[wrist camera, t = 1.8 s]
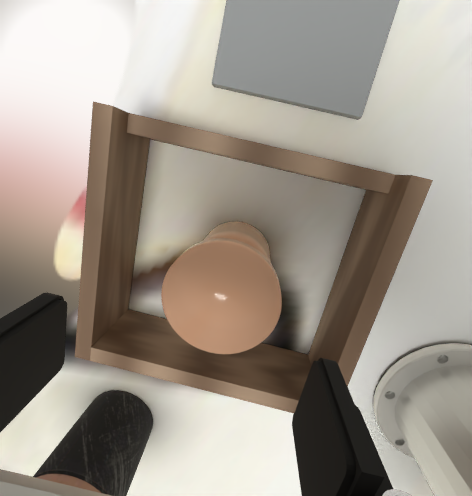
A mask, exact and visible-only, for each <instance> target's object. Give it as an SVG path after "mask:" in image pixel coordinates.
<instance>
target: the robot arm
mask: <svg viewBox="0 0 472 496" xmlns="http://www.w3.org/2000/svg"><path fill="white" fill-rule="evenodd" d="M66 318H67V302H66V301H64V299H63V297H62V296H59V295H55V294H51V293H43V294H41V295H39V296H38V297H36V298H34V299H33V300H31V301H29V302H28V303H26V304H24V305H23V306H21V307H19V308H18V309H16V310H14V311H13V312H11V313H9V314H7V315H6V316H4V317H2V318H1V319H0V432H1V431H2V430H3V429H4V428H5V427H6V426H7V425H8V424H9V423H10V422H11V421H12V420H13V419H14V418H15V417H16V416H17V415H18V414H19V412H20V411H21V410H22V409H23V408H24V407H25V406H26V405H27V404H28V403H29V402H30V401H31V400H32V399H33V398H34V397H35V396H36V395H37V394H38V393H39V392H40V391H41V390H42V389H43V388H44V387H45V386H46V384H47V383H48V382H49V381H50V380H51V379H52V378H53V377H54V376H55V375H56V374H57V373H58V372H59V371H60V370H61V368H62V366H63V364H64V357H65V337H66ZM373 409H374V414H375V418H376V421H377V423H378V425H379V427H380V430H381V431H382V433H383V435H384V436H385V438H386V439H387V440H388V441H389V442H390V443H391V444H392V445H393V446H394V447H395V448H396V449H398V450H400V451H401V452H403V453H404V454H406V455H409V456H411V457H413V458H415V460H416V462H417V464H418V465H419V467H420V469H421V471H422V473H423V475H424V477H425V479H426V481H427V482H428V484H429V486H430V488H431V490H432V492H433V494H434V496H472V345H469V344H458V343H449V344H438V345H434V346H430V347H425V348H422V349H420V350H417V351H415V352H412V353H410V354H409V355H407V356H405V357H404V358H402V359H400V360H399V361H398V362H396V363H395V364H394V365H393V366H392V367H391V368H389V370H388V371H387V372H386V373H385V374H384V376H383V377H382V378H381V380H380V382H379V384H378V386H377V388H376V391H375V395H374V404H373ZM292 427H293V435H294V442H295V449H296V456H297V464H298V471H299V478H300V485H301V492H302V496H411V495H410V494H408V493H405V492H403V491H401V490H396V489H393V487H392V485H391V483H390V480H389V478H388V476H387V473H386V471H385V469H384V466H383V464H382V461H381V459H380V457H379V454H378V452H377V450H376V447H375V445H374V443H373V440H372V438H371V436H370V433H369V431H368V428H367V426H366V424H365V421H364V419H363V417H362V414H361V412H360V410H359V408H358V407H357V406H356V405H355V404H354V402H353V399H352V397H351V395H350V392H349V390H348V387H347V385H346V383H345V380H344V378H343V375H342V373H341V370H340V368H339V366H338V363H337V362H336V361H333V360H329V359H325V358H319V360H318V361H313V363H312V366H311V369H310V371H309V374H308V377H307V380H306V382H305V385H304V388H303V391H302V393H301V396H300V399H299V401H298V404H297V407H296V410H295V412H294V415H293V421H292ZM0 496H111V495H107V494H103V493H98V492H94V491H90V490H86V489H82V488H78V487H73V486H69V485H65V484H61V483H57V482H52V481H48V480H44V479H39V478H35V477H31V476H27V475H22V474H18V473H14V472H9V471H5V470H1V469H0Z"/></svg>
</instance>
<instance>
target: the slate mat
mask: <svg viewBox="0 0 472 496" xmlns="http://www.w3.org/2000/svg"><path fill="white" fill-rule="evenodd" d="M398 3H399V0H226V6H225V12H224V17H223V23H222V29H221V34H220V40H219V45H218V51H217V57H216V62H215V68H214V74H213V79H212V85H213V86H214V87H218V88H222V89H226V90H231V91H235V92H240V93H244V94H248V95H253V96H257V97H262V98H266V99H270V100H275V101H279V102H284V103H288V104H292V105H297V106H301V107H306V108H310V109H314V110H319V111H323V112H328V113H332V114H336V115H341V116H345V117H350V118H354V119H360V118H361V117H362V115H363V112H364V108H365V105H366V102H367V99H368V96H369V93H370V90H371V87H372V84H373V81H374V78H375V74H376V71H377V68H378V65H379V62H380V59H381V56H382V53H383V50H384V47H385V44H386V40H387V37H388V34H389V31H390V28H391V25H392V22H393V19H394V16H395V13H396V9H397V6H398Z"/></svg>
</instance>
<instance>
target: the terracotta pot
mask: <svg viewBox="0 0 472 496" xmlns="http://www.w3.org/2000/svg"><path fill="white" fill-rule="evenodd" d="M161 295H162V305H163V310H164V313H165V316H166V318H167V320H168V322H169V323H170V325H171V327H172V328H173V329H174V330H175V332H176V333H177V334H178V335H179V336H180V337H181V338H182V339H184V340H185V341H186V342H188V343H189V344H191V345H192V346H194V347H196V348H198V349H201V350H203V351H207V352H210V353H215V354H234V353H240V352H243V351H246V350H249V349H251V348H253V347H255V346H257V345H258V344H260V343H261V342H262V341H264V340H265V339H266V338H267V337H268V336H269V335H270V333H271V332H272V331H273V330H274V328H275V326H276V324H277V322H278V319H279V317H280V313H281V305H282V299H281V290H280V284H279V279H278V277H277V274H276V271H275V270H274V268H273V266H272V264H271V258H270V249H269V245H268V242H267V240H266V239H265V237H264V236H263V234H262V233H261V232H260V231H259V230H258V229H256V228H255V227H253V226H252V225H250V224H247V223H244V222H238V221H232V222H226V223H223V224H220V225H218V226H217V227H215V228H214V229H213V230H212V231H210V233H209V234H208V235H207V236H206V237H205V238H204V239H203V241H202V242H199V243H197V244H195V245H193V246H191V247H190V248H188V249H187V250H186V251H185V252H184V253H183V254H182V255H180V257H179V258H178V259H177V260H176V261H175V262H174V263H173V264H172V265H171V267H170V268H169V270H168V272H167V274H166V276H165V278H164V281H163V286H162V294H161Z"/></svg>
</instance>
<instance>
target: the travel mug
mask: <svg viewBox="0 0 472 496" xmlns="http://www.w3.org/2000/svg"><path fill="white" fill-rule="evenodd" d="M152 426H153V419H152V415H151V412H150V410H149V408H148V407H147V406H146V404H145V403H144V402H143V401H142V400H140V399H139V398H137V397H136V396H134V395H132V394H130V393H127V392H123V391H109V392H105V393H102V394H101V395H99V396H98V397H97V398H95V400H94V401H93V402H92V403H91V404H90V405H89V407H88V408H87V409H86V410H85V412H84V413H83V414H82V415H81V417H80V418H79V419H78V420H77V422H76V423H75V424H74V425H73V427H72V428H71V429H70V431H69V432H68V433H67V434H66V436H65V437H64V438H63V439H62V441H61V442H60V443H59V444H58V446H57V447H56V448H55V450H54V451H53V452H52V453H51V455H50V456H49V457H48V458H47V460H46V461H45V462H44V463H43V465H42V466H41V467H40V469H39V470H38V471H37V472H36V474H35V475H34V476H33V477H35V478H39V479H44V480H48V481H52V482H57V483H61V484H65V485H69V486H73V487H78V488H82V489H86V490H90V491H94V492H98V493H103V494H107V495H111V496H126V495H127V492H128V490H129V487H130V485H131V482H132V480H133V477H134V475H135V472H136V469H137V467H138V464H139V462H140V459H141V457H142V454H143V452H144V449H145V446H146V444H147V441H148V439H149V436H150V433H151V430H152Z"/></svg>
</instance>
